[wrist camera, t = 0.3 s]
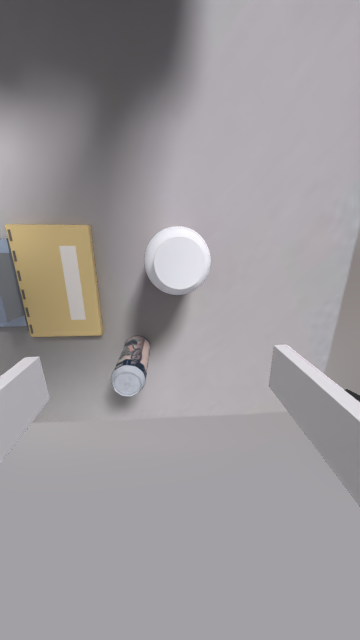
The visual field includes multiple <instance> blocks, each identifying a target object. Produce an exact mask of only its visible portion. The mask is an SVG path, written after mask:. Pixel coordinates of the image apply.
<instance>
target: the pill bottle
mask: <svg viewBox="0 0 360 640" xmlns="http://www.w3.org/2000/svg"><path fill="white" fill-rule="evenodd" d="M210 264H211V258H210V252H209V249H208V246H207V244H206V242H205V241H204V239H203V238H202V237H201V236H200V235H199V234H198V233H196V232H195V231H193V230H191V229H189V228H186V227H181V226H174V227H169V228H166V229H163V230H161V231H160V232H158V233H157V234H156V235H155V236H154V237H153V238H152V239H151V240H150V242H149V244H148V246H147V248H146V251H145V256H144V265H145V270H146V273H147V275H148V277H149V279H150V281H151V282H152V283H153V284H154V285H155V286H156V287H157V288H158V289H160V290H161V291H163V292H165V293H168V294H172V295H183V294H187V293H190V292H192V291H194V290H195V289H197V288H198V287H199V286H200V285H201V284H202V283H203V282H204V281H205V279H206V277H207V275H208V273H209V270H210Z"/></svg>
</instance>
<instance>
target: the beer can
mask: <svg viewBox="0 0 360 640" xmlns="http://www.w3.org/2000/svg"><path fill="white" fill-rule="evenodd" d="M149 354H150V345H149V343H148V341H147V340H146V339H145V338H143V337H140V336H134V337H131V338H129V339H128V340H127V341H126V342H125V345H124V348H123V351H122V353H121V356H120V358H119V361H118V363H117V365H116V368H115V370H114V372H113V373H112V376H111V383H112V386H113V388H114V390H115V392H117V393H118V394H120V395H121V396H133V395H135V394H137V393H138V392H139V391H141V390H142V389H143V387H144V385H145V381H146V374H147V367H148V361H149Z"/></svg>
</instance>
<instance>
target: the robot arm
mask: <svg viewBox="0 0 360 640" xmlns="http://www.w3.org/2000/svg"><path fill="white" fill-rule="evenodd" d="M269 387H270V388H271V390H272V391H273V392H274V394H275V395H276V396H277V398H278V399H279V400H280V402H281V403H282V404H283V405H284V407H285V408H286V409H287V411H288V412H289V413H290V415H291V416H292V417H293V419H294V420H295V421H296V423H297V424H298V425H299V427H300V428H301V429H302V431H303V432H304V433H305V435H306V436H307V437H308V438H309V440H310V441H311V442H312V444H313V445H314V446H315V448H316V449H317V450H318V452H319V453H320V454H321V456H322V457H323V458H324V459H325V461H326V462H327V464H328V465H329V466H330V468H331V469H332V470H333V472H334V473H335V474H336V476H337V477H338V478H339V480H340V481H341V482H342V483H343V485H344V486H345V487H346V489H347V490H348V491H349V493H350V494H351V495H352V497H353V498H354V499H355V501H356V502H357V503H358V505H359V506H360V395H357V394H355V393H354V392H352V391H350V390H348V389H346V390H344V389H342V388H341V387H340V386H338V385H337V384H336V383H335V382H333V381H332V380H331V379H329V378H328V377H327V376H326V375H325V374H323V373H322V372H321V371H319V370H318V369H317V368H316V367H314V366H313V365H312V364H311V363H309V362H308V361H307V360H305V359H304V358H303V357H302V356H300V355H299V354H298V353H297V352H295V351H294V350H293V349H292V348H290V347H289V346H288V345H274V348H273V356H272V364H271V372H270V380H269ZM49 400H50V397H49V393H48V389H47V385H46V381H45V377H44V373H43V369H42V365H41V360H40V357H25V358H23V359H22V360H21V361H20V362H18V363H17V364H16V365H14V366H13V367H12V368H10V369H9V370H8V371H7V372H5V373H4V374H3V375H1V376H0V463H1V462H2V461H3V459H4V458H5V457H6V456H7V454H8V453H9V452H10V450H11V449H12V448H13V447H14V445H15V444H16V442H17V441H18V440H19V439H20V437H21V436H22V435H23V433H24V432H25V431H26V429H27V428H28V427H29V425H30V424H31V423H32V422H33V420H34V419H35V418H36V416H37V415H38V414H39V413H40V411H41V410H42V409H43V407H44V406H45V405H46V403H47V402H48V401H49Z"/></svg>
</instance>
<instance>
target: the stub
mask: <svg viewBox="0 0 360 640" xmlns="http://www.w3.org/2000/svg"><path fill="white" fill-rule="evenodd" d="M17 326H28V322H27V318H26V313H25V309H24V305H23V300H22V296H21V292H20V287H19V283H18V279H17V274H16V270H15V266H14V261H13V257H12V253H11V248H10V244H9V240H8V239H0V327H17Z"/></svg>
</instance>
